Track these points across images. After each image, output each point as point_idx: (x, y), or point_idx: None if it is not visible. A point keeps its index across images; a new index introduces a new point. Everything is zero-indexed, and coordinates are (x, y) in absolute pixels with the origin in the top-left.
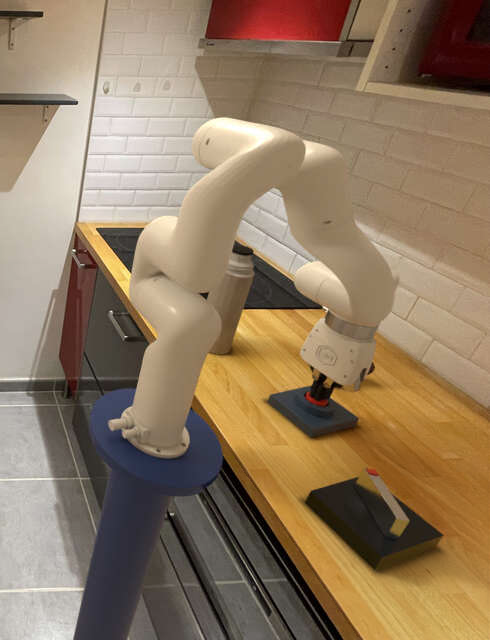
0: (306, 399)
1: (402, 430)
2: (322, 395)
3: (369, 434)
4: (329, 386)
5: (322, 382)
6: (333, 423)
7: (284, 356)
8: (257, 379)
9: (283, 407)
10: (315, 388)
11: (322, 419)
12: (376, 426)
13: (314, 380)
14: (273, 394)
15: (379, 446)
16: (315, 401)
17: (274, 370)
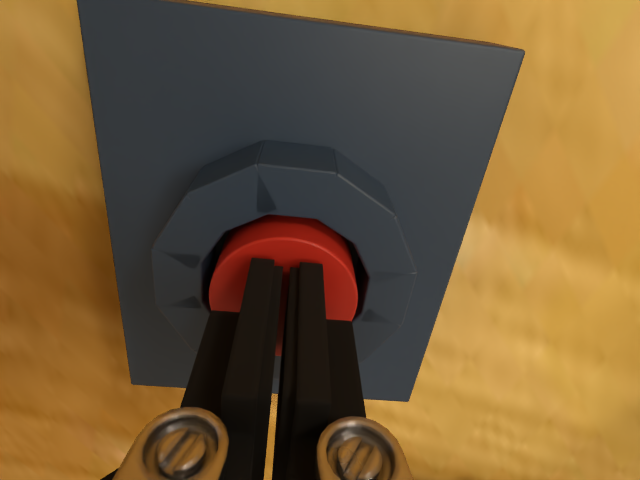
0: (321, 229)
1: (97, 464)
2: (230, 324)
3: (93, 347)
4: (128, 455)
5: (284, 450)
6: (116, 215)
7: (592, 462)
8: (631, 204)
9: (378, 28)
10: (296, 335)
11: (164, 180)
12: (133, 410)
13: (358, 413)
14: (508, 81)
15: (15, 317)
16: (252, 246)
17: (587, 354)
